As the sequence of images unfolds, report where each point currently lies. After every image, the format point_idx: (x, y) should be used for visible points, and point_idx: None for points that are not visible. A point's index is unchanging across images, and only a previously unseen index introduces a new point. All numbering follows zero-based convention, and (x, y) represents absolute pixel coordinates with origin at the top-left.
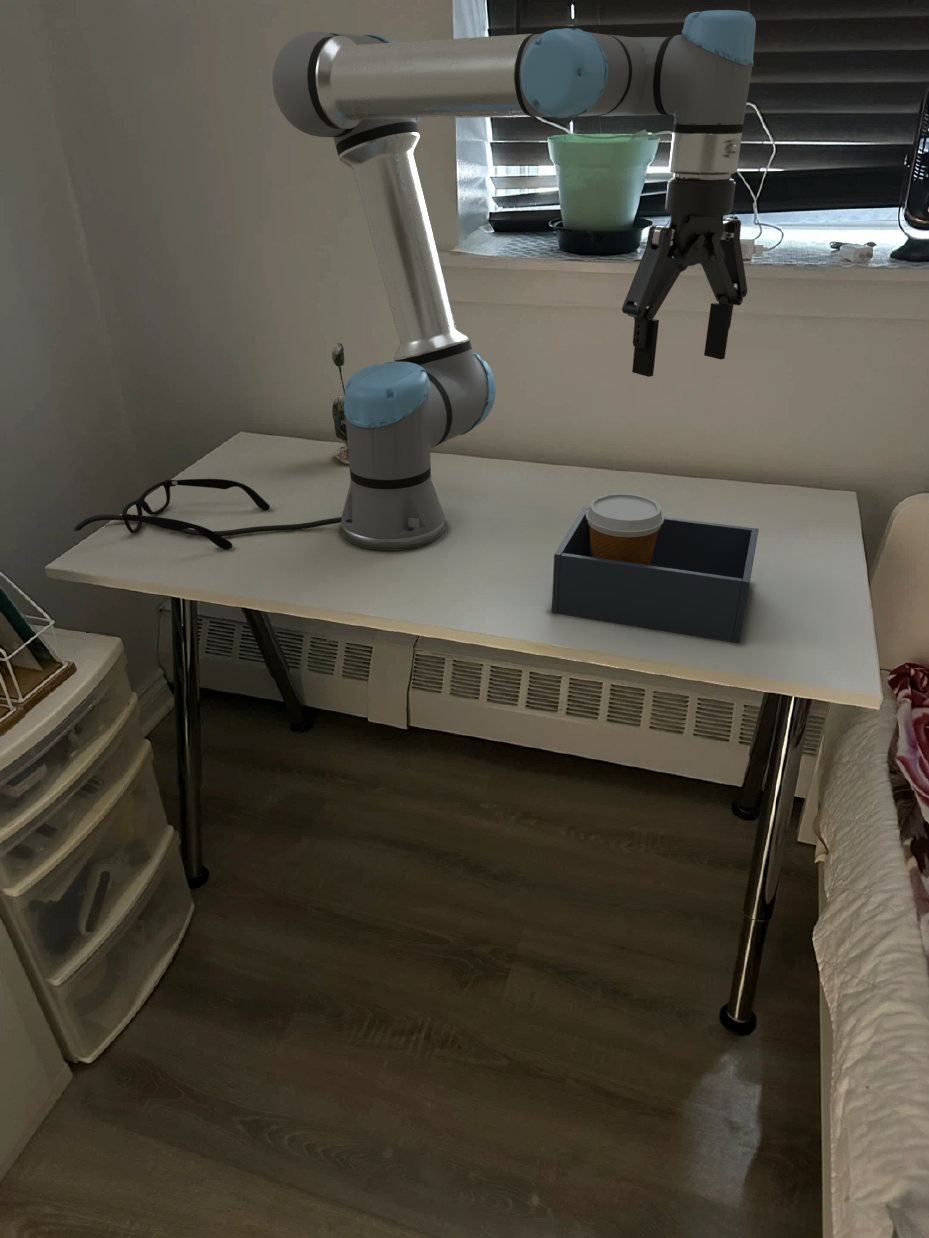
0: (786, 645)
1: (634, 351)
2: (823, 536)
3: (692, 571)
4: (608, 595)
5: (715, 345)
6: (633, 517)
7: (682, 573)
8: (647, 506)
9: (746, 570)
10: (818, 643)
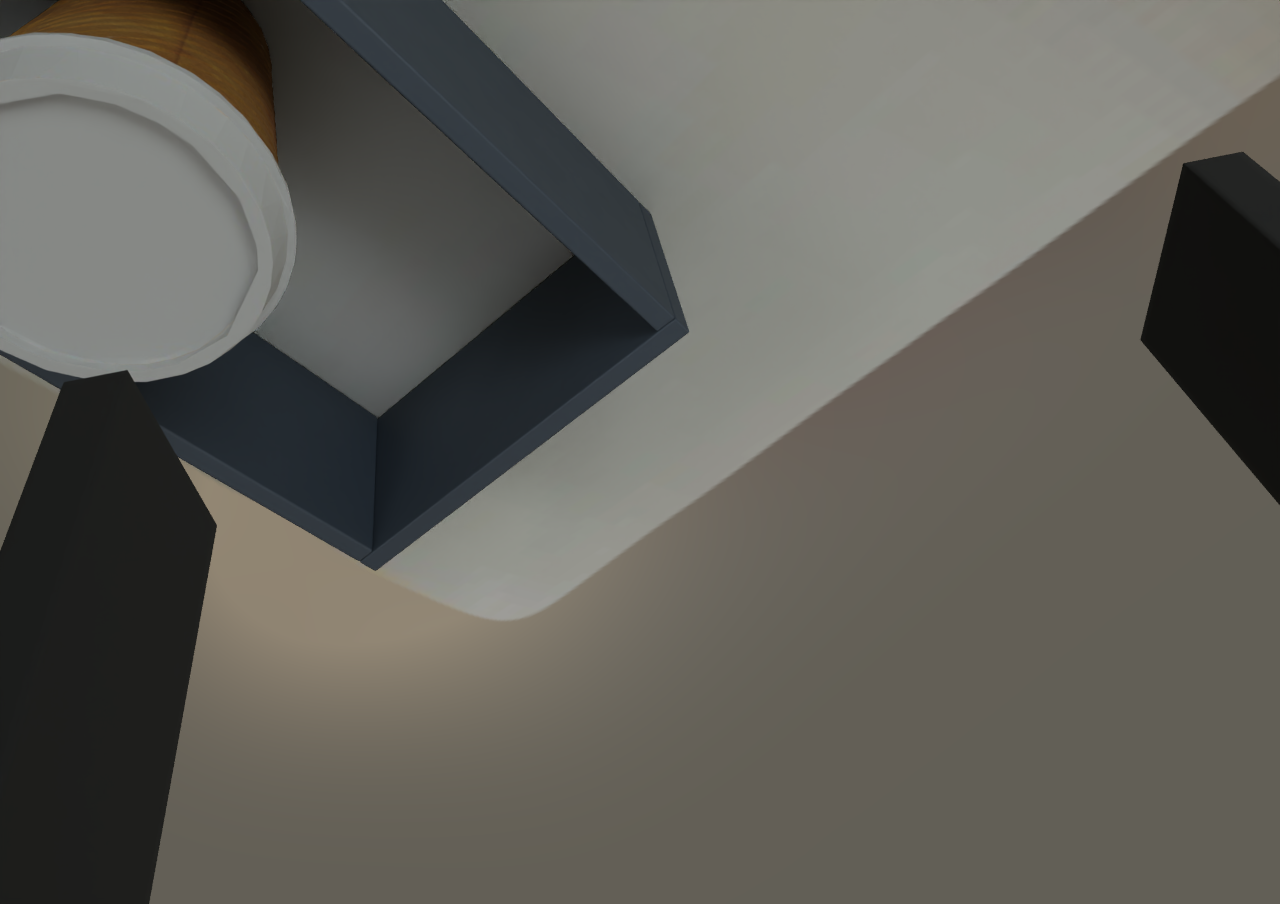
0: None
1: (6, 544)
2: (1184, 50)
3: (247, 479)
4: None
5: (1222, 343)
6: (94, 323)
7: (209, 473)
8: (221, 256)
9: (417, 524)
10: (563, 495)
